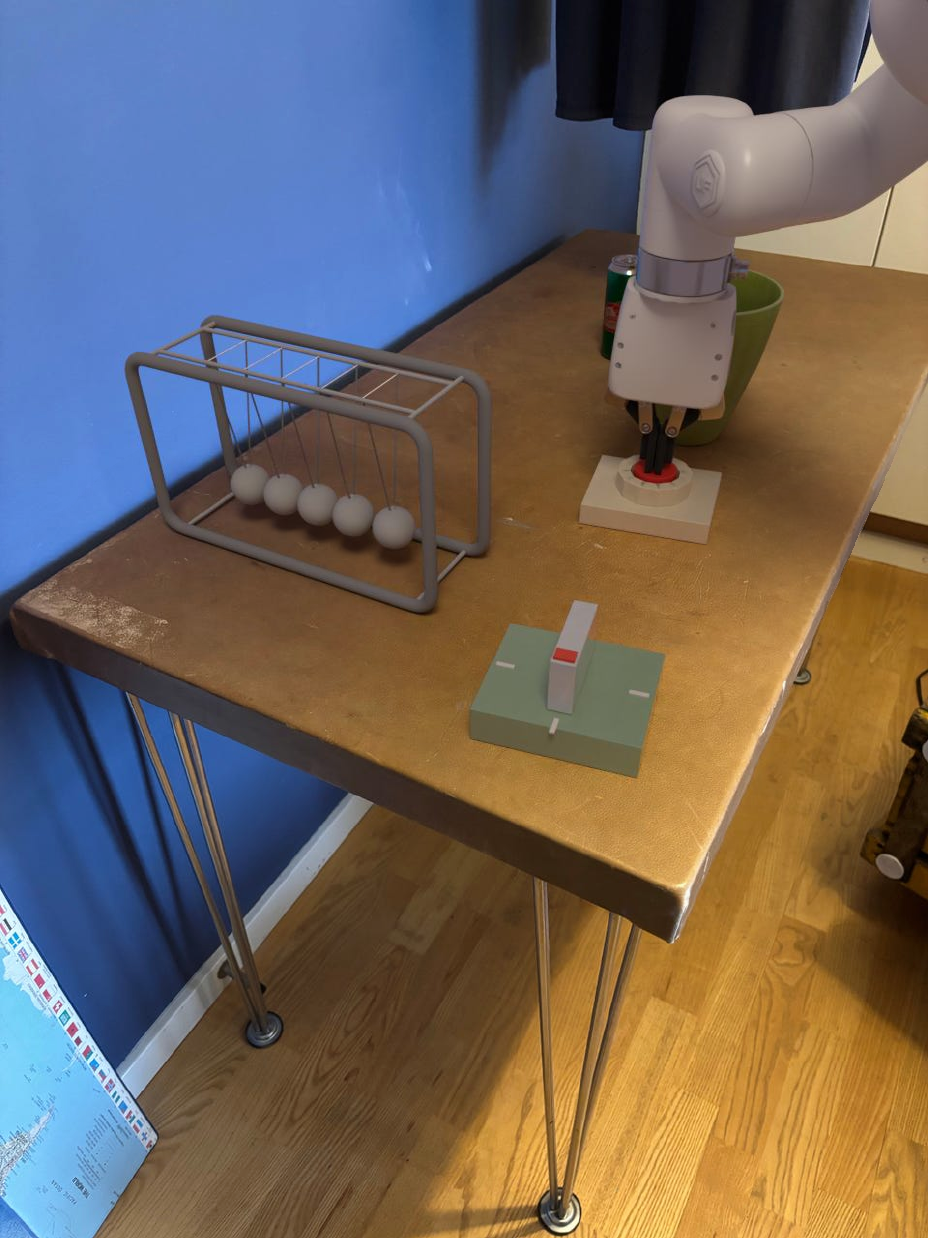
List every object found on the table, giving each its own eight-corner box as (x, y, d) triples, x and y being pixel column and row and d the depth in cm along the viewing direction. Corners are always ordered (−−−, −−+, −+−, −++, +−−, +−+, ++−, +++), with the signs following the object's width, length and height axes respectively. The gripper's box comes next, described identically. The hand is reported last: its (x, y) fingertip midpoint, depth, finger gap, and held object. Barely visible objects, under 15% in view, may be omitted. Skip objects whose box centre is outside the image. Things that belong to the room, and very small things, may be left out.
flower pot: (757, 470, 94) (790, 317, 84) (612, 457, 97) (628, 308, 87) (751, 407, 106) (779, 266, 96) (622, 397, 108) (636, 259, 98)
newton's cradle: (492, 558, 82) (494, 371, 71) (434, 622, 75) (426, 426, 64) (233, 480, 94) (200, 309, 83) (162, 529, 87) (115, 349, 76)
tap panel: (662, 678, 70) (667, 646, 68) (635, 785, 61) (640, 752, 59) (511, 647, 73) (512, 616, 71) (467, 744, 64) (466, 712, 63)
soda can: (594, 358, 117) (602, 262, 110) (608, 344, 121) (617, 250, 113) (632, 365, 115) (642, 268, 108) (645, 351, 119) (656, 256, 111)
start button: (677, 476, 88) (680, 460, 87) (671, 497, 85) (673, 481, 84) (636, 470, 89) (638, 454, 88) (629, 490, 86) (630, 474, 85)
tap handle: (570, 646, 68) (574, 596, 65) (593, 651, 68) (599, 601, 65) (546, 709, 63) (549, 657, 60) (571, 715, 62) (576, 663, 59)
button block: (718, 491, 91) (725, 455, 89) (706, 545, 84) (713, 507, 81) (600, 473, 94) (603, 438, 92) (578, 523, 87) (581, 486, 84)
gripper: (779, 264, 76) (739, 460, 87) (602, 248, 79) (586, 437, 91) (773, 294, 70) (731, 499, 82) (583, 275, 74) (568, 474, 85)
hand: (655, 466), depth 86 cm, fingers closed
